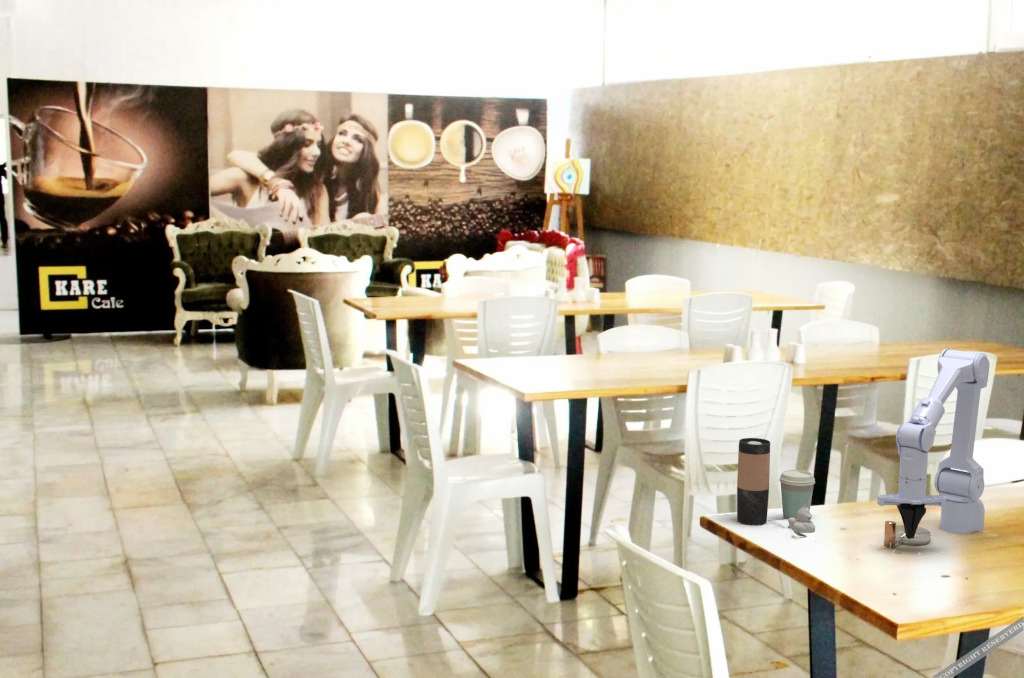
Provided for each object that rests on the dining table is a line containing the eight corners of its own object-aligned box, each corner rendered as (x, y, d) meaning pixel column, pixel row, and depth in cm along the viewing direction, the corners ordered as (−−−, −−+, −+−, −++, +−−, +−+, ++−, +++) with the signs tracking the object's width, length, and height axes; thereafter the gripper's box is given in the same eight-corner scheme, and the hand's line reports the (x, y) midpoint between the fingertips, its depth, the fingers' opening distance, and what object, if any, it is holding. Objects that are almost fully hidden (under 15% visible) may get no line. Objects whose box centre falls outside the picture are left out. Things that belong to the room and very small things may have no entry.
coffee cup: (814, 527, 283) (816, 478, 282) (778, 525, 285) (779, 476, 283) (812, 517, 292) (814, 470, 290) (777, 515, 293) (779, 468, 292)
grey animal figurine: (809, 540, 273) (810, 507, 272) (782, 535, 277) (784, 502, 276) (818, 535, 277) (820, 502, 276) (792, 530, 281) (793, 497, 280)
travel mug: (774, 522, 287) (777, 442, 284) (752, 527, 283) (755, 446, 280) (751, 515, 293) (753, 436, 290) (729, 520, 289) (731, 440, 286)
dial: (902, 531, 275) (903, 508, 275) (937, 540, 269) (939, 516, 268) (868, 542, 267) (870, 518, 266) (904, 552, 260) (905, 528, 259)
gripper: (884, 481, 256) (881, 541, 258) (952, 482, 255) (948, 542, 257) (875, 473, 263) (873, 532, 265) (941, 474, 262) (938, 533, 264)
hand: (909, 536), depth 261 cm, fingers closed
